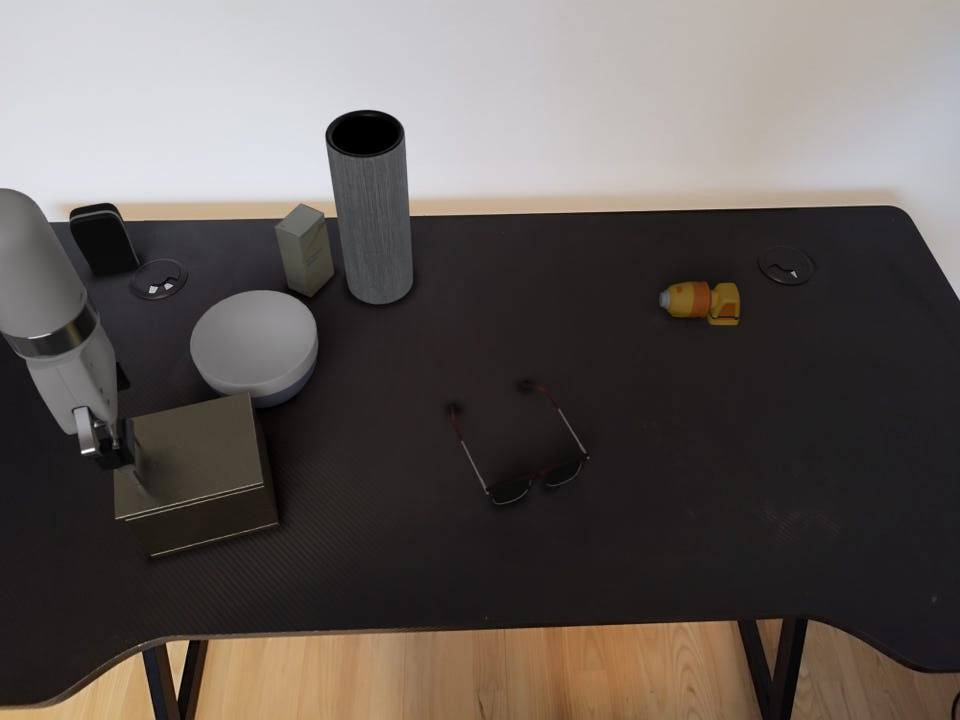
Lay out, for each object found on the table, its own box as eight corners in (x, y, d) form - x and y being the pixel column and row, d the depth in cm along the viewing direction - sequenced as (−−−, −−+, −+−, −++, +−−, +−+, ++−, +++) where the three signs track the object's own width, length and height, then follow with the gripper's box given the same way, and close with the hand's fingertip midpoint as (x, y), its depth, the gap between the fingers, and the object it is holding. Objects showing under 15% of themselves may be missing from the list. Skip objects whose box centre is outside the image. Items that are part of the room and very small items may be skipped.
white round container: (265, 449, 102) (250, 407, 95) (183, 387, 108) (163, 343, 100) (350, 372, 110) (342, 327, 103) (269, 318, 116) (256, 272, 108)
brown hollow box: (152, 559, 93) (125, 520, 85) (147, 467, 100) (121, 424, 92) (280, 526, 96) (264, 486, 88) (265, 439, 103) (250, 395, 95)
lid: (117, 522, 85) (99, 498, 81) (114, 425, 92) (97, 399, 88) (264, 486, 88) (254, 461, 84) (250, 395, 95) (240, 368, 91)
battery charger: (139, 252, 123) (115, 195, 114) (141, 269, 121) (116, 212, 112) (92, 262, 122) (63, 205, 113) (93, 279, 120) (64, 222, 111)
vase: (336, 295, 119) (311, 146, 98) (363, 251, 125) (344, 101, 104) (398, 312, 117) (386, 164, 96) (422, 266, 123) (416, 118, 102)
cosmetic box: (311, 298, 118) (298, 239, 109) (287, 287, 120) (272, 227, 110) (335, 272, 122) (325, 212, 112) (312, 262, 123) (300, 201, 114)
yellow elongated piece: (659, 325, 117) (740, 326, 117) (666, 300, 113) (750, 301, 113) (654, 298, 120) (733, 299, 121) (661, 273, 116) (743, 273, 116)
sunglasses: (486, 512, 98) (486, 490, 94) (440, 415, 107) (439, 392, 104) (586, 476, 101) (590, 454, 97) (533, 386, 111) (535, 362, 107)
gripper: (8, 259, 74) (79, 370, 87) (-2, 407, 64) (80, 506, 77) (93, 243, 75) (150, 355, 89) (96, 385, 65) (159, 487, 79)
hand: (117, 425), depth 83 cm, fingers open, 9 cm apart
